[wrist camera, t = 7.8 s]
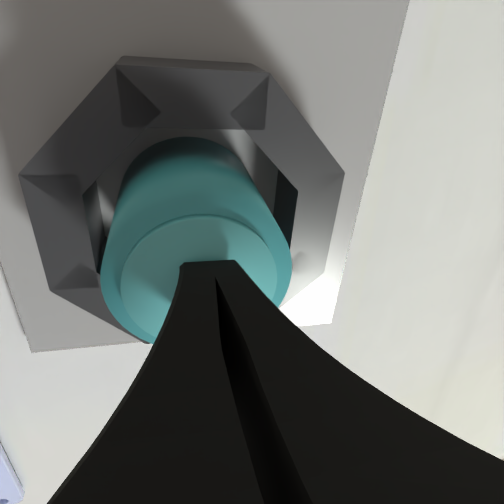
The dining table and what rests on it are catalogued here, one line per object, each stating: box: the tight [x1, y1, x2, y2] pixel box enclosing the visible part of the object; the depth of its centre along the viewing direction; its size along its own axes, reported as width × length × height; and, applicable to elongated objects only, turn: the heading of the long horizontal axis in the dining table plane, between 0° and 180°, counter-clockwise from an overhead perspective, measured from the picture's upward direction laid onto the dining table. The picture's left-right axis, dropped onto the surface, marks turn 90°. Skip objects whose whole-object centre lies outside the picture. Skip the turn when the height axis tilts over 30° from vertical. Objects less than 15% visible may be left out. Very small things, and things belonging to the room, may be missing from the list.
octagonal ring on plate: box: [0, 0, 409, 353], centre depth 13 cm, size 14×14×3 cm
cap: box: [100, 137, 292, 344], centre depth 12 cm, size 5×5×5 cm
